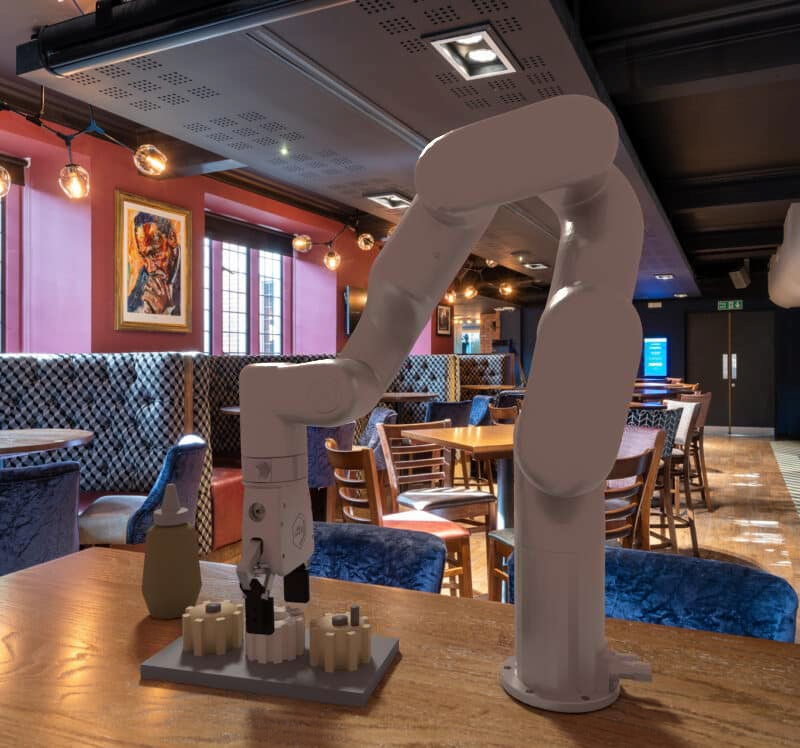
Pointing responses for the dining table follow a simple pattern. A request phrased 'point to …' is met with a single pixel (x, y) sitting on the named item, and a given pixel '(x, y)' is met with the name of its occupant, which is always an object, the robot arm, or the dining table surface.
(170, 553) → the squeeze bottle
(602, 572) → the robot arm
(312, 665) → the gear board
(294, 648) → the cream idler gear
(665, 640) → the dining table surface
